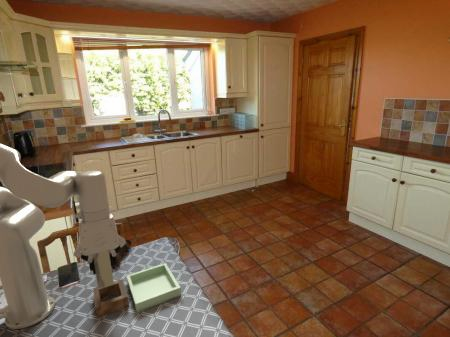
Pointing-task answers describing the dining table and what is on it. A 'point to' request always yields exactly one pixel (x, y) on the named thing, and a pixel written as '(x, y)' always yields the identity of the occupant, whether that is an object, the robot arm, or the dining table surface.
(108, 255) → the box
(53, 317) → the dining table surface
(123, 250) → the bolt
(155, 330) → the dining table surface
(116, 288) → the frame
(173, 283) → the tray
